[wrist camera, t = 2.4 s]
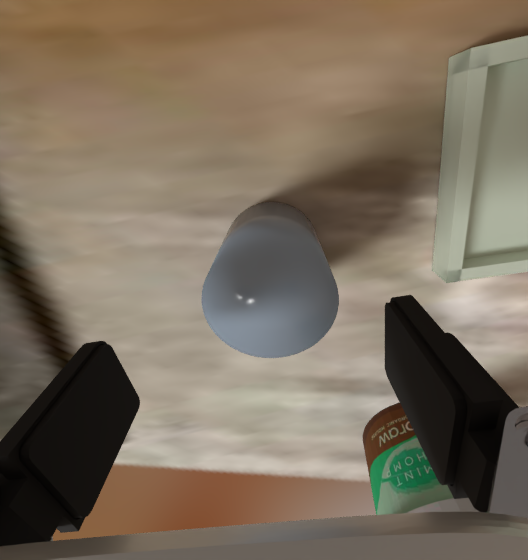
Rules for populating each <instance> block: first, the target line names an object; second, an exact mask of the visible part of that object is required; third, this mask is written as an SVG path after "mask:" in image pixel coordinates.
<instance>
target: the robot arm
mask: <svg viewBox="0 0 528 560" xmlns="http://www.w3.org/2000/svg"><path fill="white" fill-rule="evenodd" d="M385 370H386V374H387V377H388V379H389V381H390V383H391V385H392V387H393V389H394V391H395V393H396V396H397V398H398V400H399V402H400V404H401V406H402V408H403V410H404V412H405V414H406V416H407V418H408V420H409V422H410V424H411V426H412V429H413V431H414V433H415V435H416V437H417V439H418V441H419V443H420V445H421V447H422V449H423V451H424V453H425V455H426V457H427V459H428V461H429V464H430V466H431V468H432V470H433V472H434V474H435V476H436V478H437V480H438V481H439V483H440V484H441V485H447V486H448V488H449V490H450V492H451V494H452V496H453V498H454V499H461V498H469V500H470V502H471V503H472V505H473V507H474V508H475V509H476V510H478V511H479V512H420V513H403V514H385V515H368V516H352V517H340V518H326V519H313V520H300V521H287V522H275V523H261V524H249V525H237V526H223V527H212V528H200V529H187V530H175V531H163V532H151V533H139V534H127V535H116V536H106V537H105V536H104V537H93V538H82V539H70V540H59V541H53V538H52V536H53V534H54V532H55V530H56V528H57V529H58V530H59V531H60V532H73V531H79V529H80V527H81V525H82V523H83V521H84V519H85V517H86V516H88V515H89V514H90V512H91V511H92V509H93V507H94V504H95V502H96V500H97V498H98V496H99V494H100V491H101V489H102V487H103V485H104V483H105V480H106V478H107V476H108V474H109V472H110V470H111V467H112V465H113V463H114V461H115V459H116V457H117V455H118V452H119V450H120V448H121V446H122V444H123V442H124V439H125V437H126V435H127V433H128V431H129V429H130V426H131V424H132V422H133V420H134V418H135V416H136V413H137V411H138V409H139V405H140V400H139V397H138V395H137V393H136V391H135V389H134V387H133V385H132V384H131V382H130V380H129V378H128V376H127V374H126V372H125V371H124V369H123V367H122V365H121V363H120V361H119V359H118V358H117V356H116V354H115V352H114V350H113V348H112V347H111V346H110V345H108V344H107V343H106V342H104V341H98V342H91V343H86V344H84V345H83V346H82V347H81V348H80V349H79V350H78V351H77V353H76V354H75V355H74V356H73V357H72V358H71V360H70V361H69V362H68V363H67V364H66V365H65V367H64V368H63V369H62V370H61V371H60V372H59V374H58V375H57V376H56V377H55V378H54V379H53V381H52V382H51V383H50V384H49V385H48V386H47V388H46V389H45V390H44V391H43V392H42V393H41V395H40V396H39V397H38V398H37V399H36V400H35V402H34V403H33V404H32V405H31V406H30V407H29V409H28V410H27V411H26V412H25V413H24V414H23V416H22V417H21V418H20V419H19V420H18V421H17V423H16V424H15V425H14V426H13V427H12V428H11V430H10V431H9V432H8V433H7V434H6V435H5V437H4V438H3V439H2V440H1V441H0V560H528V406H526V407H521V408H519V407H518V406H517V405H516V403H515V402H514V401H513V400H512V399H511V398H510V397H509V396H508V395H507V394H506V392H505V391H504V390H503V389H502V388H501V387H500V386H499V385H498V384H497V382H496V381H495V380H494V379H493V378H492V377H491V376H490V375H489V374H488V373H487V371H486V370H485V369H484V368H483V367H482V366H481V365H480V364H479V363H478V362H477V360H476V359H475V358H474V357H473V356H472V355H471V354H470V353H469V352H468V350H467V349H466V348H465V347H464V346H463V345H462V344H461V343H460V342H459V341H458V339H457V338H456V337H455V336H453V335H452V334H450V333H444V331H443V330H442V329H441V328H440V327H439V326H438V325H437V323H436V322H435V321H434V320H433V319H432V318H431V317H430V315H429V314H428V313H427V312H426V311H425V310H424V308H423V307H422V306H421V305H420V304H419V303H418V302H417V300H416V299H415V298H414V297H413V296H412V295H406V296H400V297H393V298H391V301H390V303H386V305H385Z"/></svg>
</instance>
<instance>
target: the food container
mask: <svg viewBox="0 0 528 560" xmlns="http://www.w3.org/2000/svg"><path fill="white" fill-rule="evenodd" d="M363 444H364V449H365V455H366V460H367V465H368V471H369V476H370V482H371V487H372V493H373V498H374V503H375V509H376V514H377V515H385V514H403V513H420V512H479V511H478V510H476V509H475V508H474V507H473V505H472V503H471V502H470V500H469V498H461V499H454V498H453V496H452V494H451V492H450V490H449V488H448V486H447V485H441V484H440V483H439V481H438V480H437V478H436V476H435V474H434V472H433V470H432V468H431V466H430V464H429V461H428V459H427V457H426V455H425V453H424V451H423V449H422V447H421V445H420V443H419V441H418V439H417V437H416V435H415V433H414V431H413V429H412V426H411V424H410V422H409V420H408V418H407V416H406V414H405V412H404V410H403V408H402V406H401V404H400V403H397V404H395V405H392V406H390V407H387V408H385V409H384V410H382V411H380V412H379V413H377V414H376V415H375V416H374V417H373V418H372V419H371V420H370V421H369V422H368V424H367V425H366V427H365V429H364V432H363Z"/></svg>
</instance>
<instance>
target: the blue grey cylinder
mask: <svg viewBox="0 0 528 560" xmlns="http://www.w3.org/2000/svg"><path fill="white" fill-rule="evenodd" d="M338 305H339V295H338V289H337V285H336V282H335V279H334V277H333V274H332V272H331V269H330V267H329V264H328V262H327V259H326V257H325V254H324V252H323V249H322V246H321V244H320V241H319V239H318V236H317V234H316V231H315V229H314V227H313V225H312V223H311V222H310V220H309V219H308V218H307V217H306V216H305V215H304V214H303V213H302V212H301V211H299V210H298V209H296V208H294V207H292V206H290V205H287V204H284V203H278V202H265V203H260V204H256V205H254V206H251V207H250V208H248V209H246V210H245V211H243V212H242V213H241V214H240V215H239V216H238V217H237V218H236V219H235V220H234V221H233V223H232V225H231V226H230V228H229V230H228V233H227V235H226V237H225V239H224V241H223V243H222V245H221V247H220V249H219V252H218V254H217V256H216V258H215V260H214V262H213V264H212V266H211V268H210V271H209V273H208V275H207V277H206V280H205V282H204V285H203V290H202V308H203V311H204V315H205V318H206V320H207V322H208V324H209V326H210V327H211V329H212V330H213V331H214V333H215V334H216V335H217V336H218V337H219V338H220V339H221V340H222V341H223V342H225V343H226V344H227V345H229V346H230V347H232V348H234V349H236V350H238V351H240V352H242V353H245V354H248V355H252V356H256V357H263V358H279V357H286V356H290V355H294V354H297V353H300V352H302V351H304V350H306V349H308V348H310V347H311V346H313V345H314V344H316V343H317V342H318V341H319V340H321V339H322V338H323V337H324V336H325V334H326V333H327V332H328V331H329V329H330V328H331V326H332V324H333V322H334V320H335V318H336V315H337V311H338Z"/></svg>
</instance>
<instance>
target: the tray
mask: <svg viewBox="0 0 528 560" xmlns="http://www.w3.org/2000/svg"><path fill="white" fill-rule="evenodd" d="M432 271H433V272H435V273H436V274H437V275H438V276H439V277H440V278H441V279H442V280H444V281H445V282H446V283H450V282H457V281H464V280H472V279H479V278H486V277H493V276H500V275H508V274H515V273H522V272H528V35H527V36H523V37H518V38H514V39H509V40H505V41H500V42H496V43H491V44H487V45H483V46H478V47H474V48H470V49H468V50H465V51H463V52H461V53H458V54H456V55H453V56H451V57H449V65H448V77H447V90H446V103H445V115H444V128H443V140H442V153H441V166H440V178H439V191H438V204H437V216H436V229H435V241H434V254H433V267H432Z"/></svg>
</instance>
